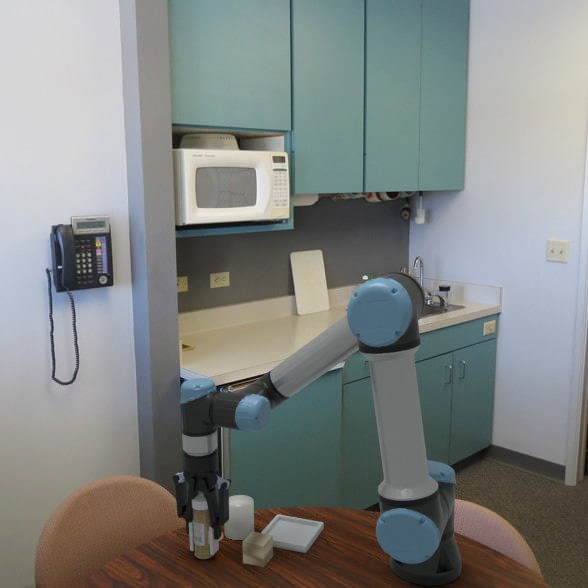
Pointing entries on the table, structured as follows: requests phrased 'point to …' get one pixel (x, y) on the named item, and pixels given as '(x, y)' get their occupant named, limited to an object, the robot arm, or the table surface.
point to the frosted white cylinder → (240, 517)
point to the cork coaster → (221, 537)
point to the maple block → (258, 549)
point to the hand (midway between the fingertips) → (204, 549)
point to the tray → (293, 532)
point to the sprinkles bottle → (201, 527)
